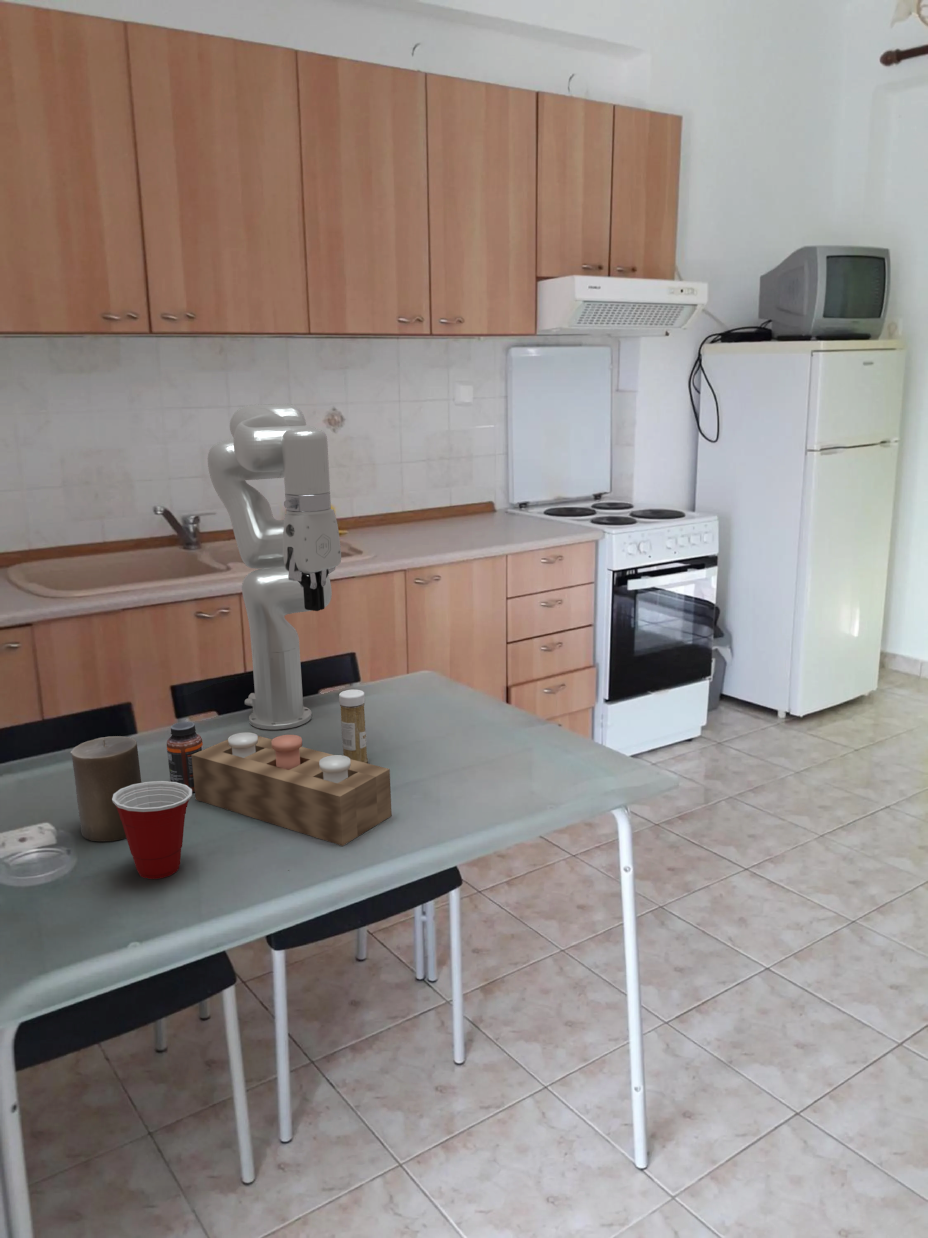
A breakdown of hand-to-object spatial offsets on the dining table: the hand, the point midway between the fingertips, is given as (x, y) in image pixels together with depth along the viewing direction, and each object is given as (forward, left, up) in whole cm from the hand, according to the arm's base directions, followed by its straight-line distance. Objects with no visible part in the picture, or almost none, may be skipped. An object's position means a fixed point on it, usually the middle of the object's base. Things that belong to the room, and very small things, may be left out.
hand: (314, 609), depth 169 cm
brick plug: (+7, -16, -27) cm, 32 cm away
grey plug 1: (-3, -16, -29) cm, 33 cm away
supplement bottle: (-14, -19, -29) cm, 38 cm away
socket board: (+7, -16, -29) cm, 34 cm away
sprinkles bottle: (+4, +4, -29) cm, 30 cm away
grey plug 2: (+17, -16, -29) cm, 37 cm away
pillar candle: (-12, -36, -29) cm, 48 cm away
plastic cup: (+5, -41, -29) cm, 51 cm away
